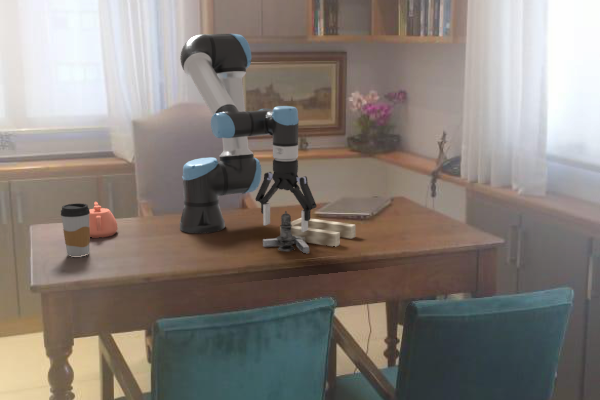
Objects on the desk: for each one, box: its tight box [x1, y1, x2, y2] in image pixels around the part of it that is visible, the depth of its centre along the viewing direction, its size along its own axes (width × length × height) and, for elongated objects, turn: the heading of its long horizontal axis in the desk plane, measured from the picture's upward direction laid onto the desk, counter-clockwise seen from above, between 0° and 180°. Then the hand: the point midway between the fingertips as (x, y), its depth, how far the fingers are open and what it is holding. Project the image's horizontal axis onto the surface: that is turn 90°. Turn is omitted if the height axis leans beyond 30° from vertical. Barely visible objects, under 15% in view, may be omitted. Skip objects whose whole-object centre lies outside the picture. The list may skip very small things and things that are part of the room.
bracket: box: [279, 217, 356, 248], centre depth 239 cm, size 20×14×4 cm
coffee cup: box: [60, 202, 91, 256], centre depth 221 cm, size 8×8×15 cm
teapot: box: [89, 201, 119, 239], centre depth 246 cm, size 12×18×10 cm
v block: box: [262, 236, 310, 254], centre depth 229 cm, size 10×17×2 cm, turn 59°
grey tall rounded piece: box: [276, 210, 296, 252], centre depth 226 cm, size 6×6×12 cm
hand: (285, 227), depth 226 cm, fingers open, 13 cm apart
